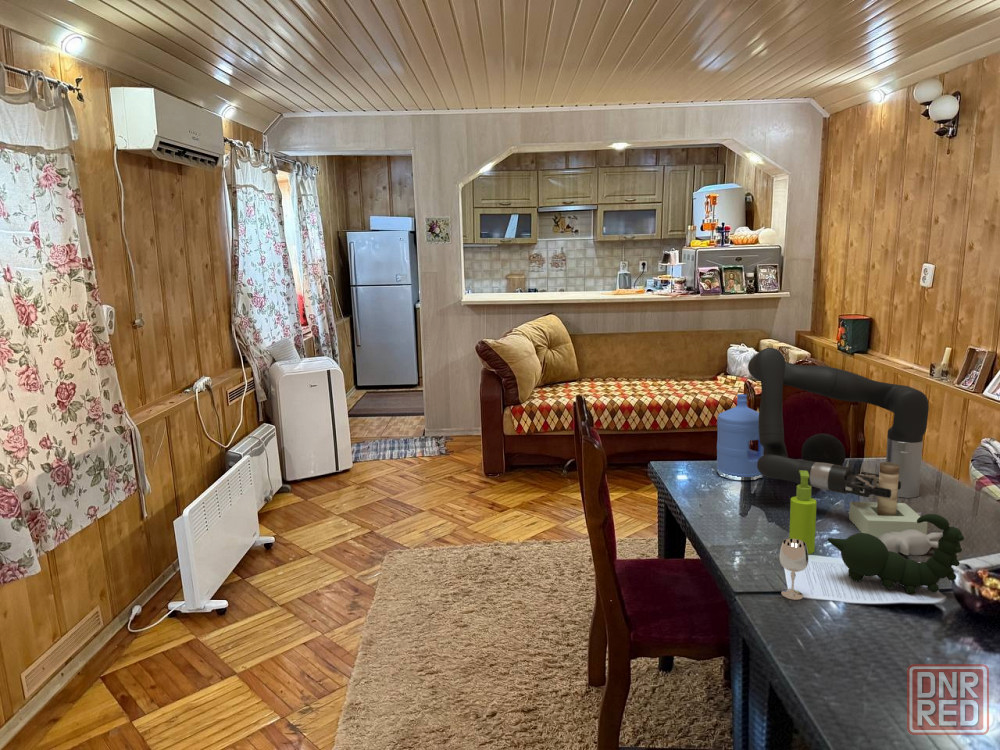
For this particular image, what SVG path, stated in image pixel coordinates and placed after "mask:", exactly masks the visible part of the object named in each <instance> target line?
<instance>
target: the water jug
mask: <svg viewBox="0 0 1000 750" xmlns="http://www.w3.org/2000/svg"><path fill="white" fill-rule="evenodd" d="M747 397H748V394H744V393H742V394H741V393H738V394H737V399H736V406H734V407H731V408H729V409H727V410H724V411H722V412H719V413H718V415H717V420H716V421H717V422H716V426H717V438H716V439H717V441H716V456H717V457H716V466H715V467H716V468H717V469H718V470H719V471H721V472H723V473H725V474H728V475H732V476H737V477H755V476H759V475H762V474H761V473H760V472H759V470H758V468H757V462H758V460H759V458H760V457H762V456H763V455H765V451H764V447H763V446H762V445H761V444H760V440H759V411H756V410H754V409H753V408H750V407H748V400H747V399H748V398H747ZM751 441H757V443H758V445H757V448H758V449H757V450H753V449H751V448H750V446H751V445H750V442H751Z"/></svg>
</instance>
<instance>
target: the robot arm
mask: <svg viewBox="0 0 1000 750" xmlns="http://www.w3.org/2000/svg"><path fill="white" fill-rule="evenodd" d="M747 370H748V372H749V374H750V376H751V377H752V378H754V379H755V380H757V381H759V382H760V388H761V395H760V403H759V404H760V405H759V411H758V412H759V440H760V444H761V445H762V446H763V447H764V455H763V456H762V457H760V458H759V460H758V462H757V468H758V470H759V472H760V473H761V474H762V475H763V476H764V477H765V478H769V479H770V478H771V479H775V480H784V481H789V482H794V483H796V484H798V485H799V484H801V476H800V473H799V470H802V471H808V473H809V478H808V485H809V486H811V487H814V488H817V489H820V490H824V491H830V492H834V493H838V494H843V495H846V494H847V495H848V494H849V495H850V494H851V495H854V496H855V495H856V496H860V497H864V498H869V497H874V496H876V497H878V496H881V497H886V498H890V497H891V492H892V491H891V490H890V489H886V488H881V487H879V474H878V473H872V472H868V471H867V472H866V471H861V472H860V473H858V474H854V471H853V469H852V468H851V467H850V466H846V465H845V466H844V465H841V466H840V465H834V464H829V463H819V462H812V461H807V460H803V459H795V458H790V457H789V454H788V452H787V451H788V450H787V446H786V444H785V431H784V430H785V429H784V417H783V415H784V414H783V413H784V412H783V395H784V394H783V393H784V392H783V391H784V386H786V387H792V388H796V389H799V390H802V391H805V392H809V393H812V394H816V395H820V396H823V397H826V398H829V399H834V400H838V401H844V402H852V403H865V404H869V405H872V406H876V407H878V408H882V409H884V410H887V411H889V412H891V413H893V421H892V426H891V427H889V428H888V430H887V434H886V435H887V439H886V453H885V454H886V455H885V456H886V457H885V462H890V463H895V464H898V465H899V466H900V468H899V479H898V494H897V498H904V499H905V498H906V499H907V498H908V499H911V498H917V497H919V495H920V484H921V470H922V457H923V456H922V455H923V441H924V439H923V438H924V436H925V433H926V431H927V427H928V418H929V411H930V409H929V407H930V406H929V405H930V403H929V399H928V397H927V396H926V394H925V392H923V391H921V390H919V389H916V388H915V387H911V386H909V385H903V384H896V383H889V382H883V381H877V380H874V379H871V378H868V377H865V376H863V375H860V374H858V373H855V372H851V371H848V370H844V369H840V368H836V367H833V366H832V367H831V366H827V365H804V364H795V363H793V362H792V363H791V362H787V361H786V358H785V356H784V354H783V353H782V352H781V351H780V349H777V348H774V347H766V348H763V349H762V350H760V351H758V352H757V353H756V354H755V355H753V356H752V358H750V360H749V361H748V364H747Z"/></svg>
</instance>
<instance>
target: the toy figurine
mask: <svg viewBox="0 0 1000 750" xmlns="http://www.w3.org/2000/svg"><path fill="white" fill-rule="evenodd" d="M920 516H921V517H920V518H918V519H917V523H921V522H928V523H929V524H933V526H935V527H936V528H937V529H939V530H942V536H940V538H939V539H938V540H937V541H938V548H934V550H933V553H932V556H931V557H929V558H928V559H926V561H920V562H919V561H916V560H914V559H911V558H907V559H906V558H905V557H903V556H902V555H901V554H900V553H895V552H892V551H888V549H887V547H886V546H885V544H884V543H883V542H882V541H881V540H880V539H878V538H877V537H875V536H873V535H870V534H867V533H862V532H860V533H853V534H852V535H850V536H848V537H847V538H833V537H829V538H827V539H826V540H827V542H829V543H830V544H831V545H833V546H834V547H835V548H836V549H837V550H839V552H840V555H841V560H842V561H843V563H844V566H846V568H847V569H848V570H847V571H848V572H847V574H848V578H850V580H851V581H853V582H861V581H863V579H864V577H867V578H870V577H871V578H872V577H875V576H877V577H878V578H879V579H880V582H881V586H882V587H884V588H885V589H892V588H894V587H895V584H897V583H898V584H899V585H901V586H902V587H904V590H905V592H906V593H907V594H910V595H913V594H915V593H916V592H917V588H921V587H923V586H924V587H927V590H928V591H929V592H931V593H935V594H936V593H938V591H939V590H940V588H939V585H938V583H939V581H940V580H941V579H948V581H955V580H957V575H956V573H955V570H954V567H958V566H960V561H959V559H958V556H957V554H959V553H961V552H963V549H962V547H961V542H963V541H964V540H965V537H964V535H963V533H962V531H961V530H960V529H959V528H958V527H955V526H950V523H949V521H948V519H946V518H945V517H943V516H941V515H939V514H936V513H927V514H924V515H923V514H922V515H920ZM953 566H954V567H953Z"/></svg>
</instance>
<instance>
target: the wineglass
mask: <svg viewBox="0 0 1000 750" xmlns="http://www.w3.org/2000/svg"><path fill="white" fill-rule="evenodd" d="M778 558H779V563H780V565H781V567H783V568H784V569H786V570H787V571H789V572H790V579H791V587H790V588H789V589H787V588H786V589H783V590H782V591H781V593H780V594H781V595H782V596H783V597H784V598H787V599H789V600H794V601H795V600H802V599H803V598H804V593H802V592H800V591H798V590H796V589H795V579H796V575H797V574H796V573H799V572H802V571H804V570H805V569H806V568H807V567H808V565H809V554H808V550H807V546H806V543H805V542H803V541H801V540H798V539H789V538H785V539H783V540H782V543H781V546H780V548H779V557H778Z"/></svg>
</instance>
